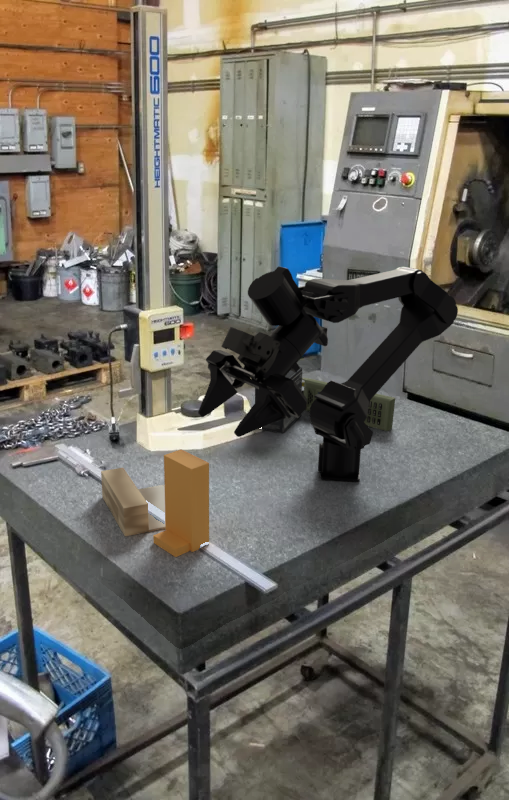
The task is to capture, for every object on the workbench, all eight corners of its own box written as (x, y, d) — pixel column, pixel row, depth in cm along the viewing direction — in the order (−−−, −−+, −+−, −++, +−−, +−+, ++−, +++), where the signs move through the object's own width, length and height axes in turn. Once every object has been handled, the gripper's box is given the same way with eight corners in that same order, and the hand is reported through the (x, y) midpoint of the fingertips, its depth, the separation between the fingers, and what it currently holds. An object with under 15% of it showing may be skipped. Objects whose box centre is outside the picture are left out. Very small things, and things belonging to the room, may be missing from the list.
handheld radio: (386, 433, 146) (277, 405, 160) (393, 429, 149) (285, 402, 162) (390, 400, 144) (279, 375, 157) (397, 396, 147) (287, 371, 160)
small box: (272, 410, 156) (273, 361, 153) (302, 415, 154) (304, 366, 150) (252, 428, 147) (253, 376, 143) (283, 434, 145) (285, 381, 141)
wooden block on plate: (163, 486, 123) (163, 460, 121) (191, 523, 112) (191, 495, 110) (102, 497, 119) (101, 471, 117) (124, 536, 108) (123, 508, 106)
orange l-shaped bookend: (182, 528, 110) (181, 449, 106) (209, 544, 106) (209, 462, 102) (151, 541, 107) (148, 460, 102) (178, 558, 103) (176, 474, 98)
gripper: (222, 297, 115) (153, 372, 111) (301, 322, 101) (226, 409, 98) (257, 345, 122) (193, 418, 118) (336, 376, 108) (267, 459, 104)
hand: (217, 424), depth 110 cm, fingers open, 9 cm apart
